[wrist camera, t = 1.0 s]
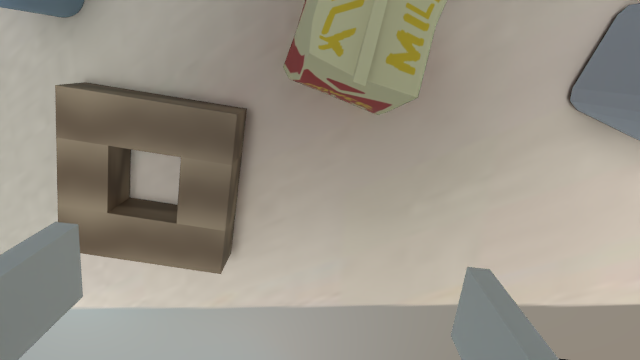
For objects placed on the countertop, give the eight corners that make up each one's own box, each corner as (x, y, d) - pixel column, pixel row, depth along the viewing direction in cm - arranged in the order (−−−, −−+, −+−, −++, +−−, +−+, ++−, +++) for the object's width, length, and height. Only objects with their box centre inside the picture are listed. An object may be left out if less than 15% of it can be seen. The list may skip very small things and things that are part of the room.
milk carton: (380, 112, 36) (444, 172, 16) (280, 72, 35) (226, 86, 16) (425, 6, 33) (562, -67, 14) (319, -39, 32) (312, -183, 13)
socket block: (84, 82, 35) (55, 85, 31) (246, 108, 36) (237, 114, 32) (84, 231, 39) (58, 249, 35) (230, 253, 40) (220, 273, 36)
